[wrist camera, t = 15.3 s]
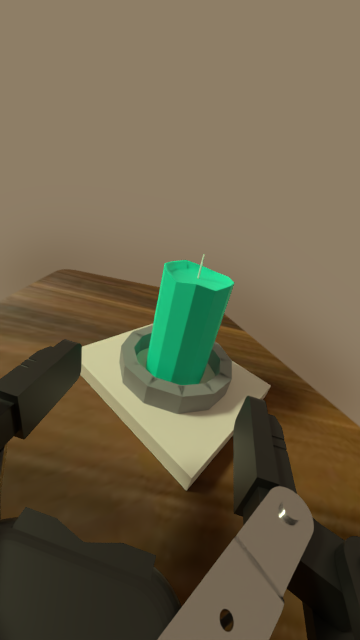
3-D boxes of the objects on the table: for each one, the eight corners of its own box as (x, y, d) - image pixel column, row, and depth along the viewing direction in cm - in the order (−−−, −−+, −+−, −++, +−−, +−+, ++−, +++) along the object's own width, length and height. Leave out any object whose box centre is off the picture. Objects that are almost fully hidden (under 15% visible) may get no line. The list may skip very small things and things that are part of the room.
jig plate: (265, 395, 26) (278, 371, 25) (186, 490, 16) (199, 460, 14) (164, 328, 34) (169, 306, 33) (69, 362, 24) (69, 334, 23)
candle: (139, 353, 25) (157, 240, 20) (188, 350, 28) (217, 249, 22) (154, 395, 21) (184, 262, 15) (212, 387, 23) (256, 270, 18)
